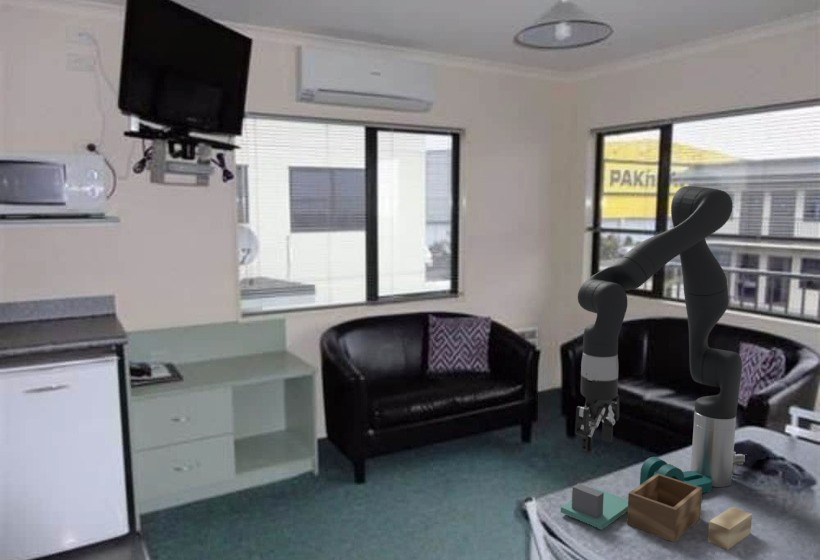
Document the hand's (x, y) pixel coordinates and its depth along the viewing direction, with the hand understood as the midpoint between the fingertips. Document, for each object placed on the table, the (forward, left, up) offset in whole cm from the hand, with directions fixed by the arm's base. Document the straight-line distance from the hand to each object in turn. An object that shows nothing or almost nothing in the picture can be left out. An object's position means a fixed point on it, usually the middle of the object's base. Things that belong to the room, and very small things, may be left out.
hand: (597, 446), depth 130 cm
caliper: (-54, +14, -17) cm, 59 cm away
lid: (-3, -1, -16) cm, 16 cm away
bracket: (-27, +8, -17) cm, 32 cm away
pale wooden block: (-14, +23, -17) cm, 32 cm away
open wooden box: (-10, +11, -17) cm, 22 cm away
